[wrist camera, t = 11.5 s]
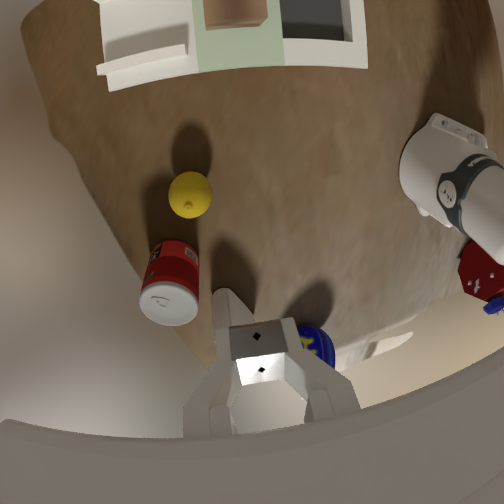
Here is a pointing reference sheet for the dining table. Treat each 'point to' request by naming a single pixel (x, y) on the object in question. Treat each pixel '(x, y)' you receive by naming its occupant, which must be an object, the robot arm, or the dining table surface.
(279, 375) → the robot arm
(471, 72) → the dining table surface
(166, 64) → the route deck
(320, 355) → the ornament
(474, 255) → the alarm clock
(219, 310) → the white rounded block
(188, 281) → the canned food
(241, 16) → the walnut block
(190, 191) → the lemon
